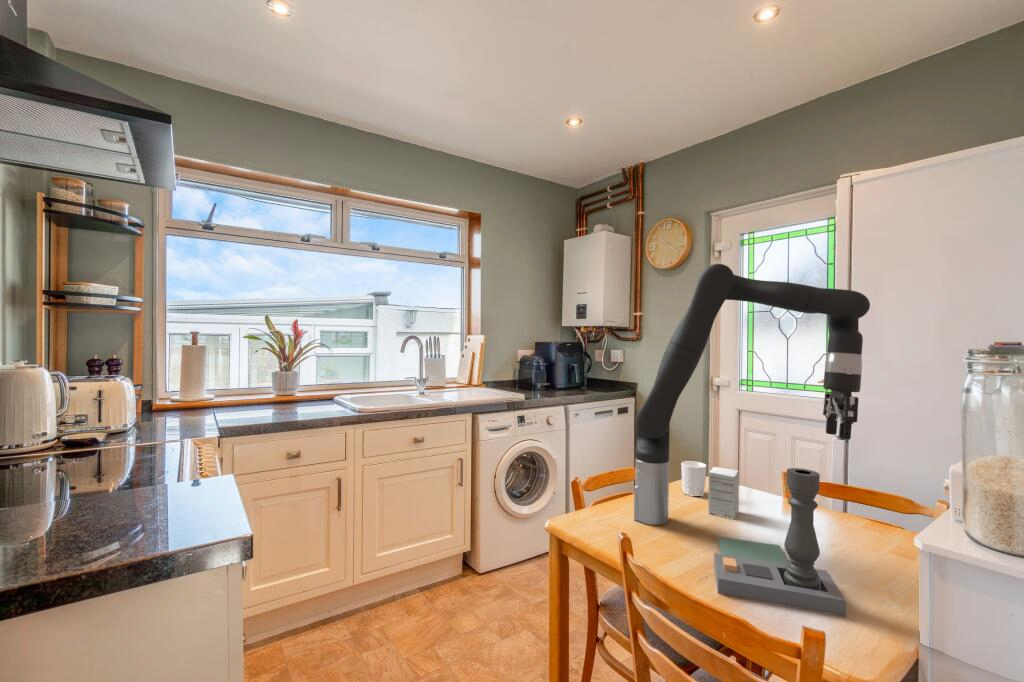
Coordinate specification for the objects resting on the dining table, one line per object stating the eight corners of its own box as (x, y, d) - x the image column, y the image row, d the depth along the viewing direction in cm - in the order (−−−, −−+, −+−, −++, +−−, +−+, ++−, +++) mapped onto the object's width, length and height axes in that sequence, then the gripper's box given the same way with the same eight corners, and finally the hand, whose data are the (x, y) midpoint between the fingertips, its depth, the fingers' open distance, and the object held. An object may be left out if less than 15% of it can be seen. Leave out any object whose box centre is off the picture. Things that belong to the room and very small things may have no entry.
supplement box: (713, 506, 142) (713, 466, 142) (739, 512, 138) (739, 470, 138) (707, 513, 136) (707, 471, 136) (734, 519, 132) (735, 476, 132)
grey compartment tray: (718, 593, 94) (718, 572, 94) (713, 565, 105) (714, 547, 105) (845, 616, 86) (846, 594, 86) (826, 584, 97) (826, 564, 97)
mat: (722, 561, 107) (722, 557, 107) (718, 540, 118) (718, 536, 118) (790, 572, 102) (791, 568, 102) (779, 549, 113) (779, 545, 113)
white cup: (676, 490, 157) (677, 461, 157) (698, 489, 158) (699, 460, 158) (687, 498, 149) (687, 467, 149) (710, 497, 150) (711, 467, 150)
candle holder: (825, 604, 90) (827, 477, 90) (790, 600, 91) (792, 475, 91) (811, 587, 96) (813, 468, 96) (778, 583, 97) (780, 466, 97)
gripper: (815, 370, 122) (810, 430, 122) (836, 370, 109) (831, 438, 108) (848, 373, 120) (843, 434, 120) (873, 373, 107) (868, 443, 106)
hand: (837, 436), depth 114 cm, fingers open, 8 cm apart
